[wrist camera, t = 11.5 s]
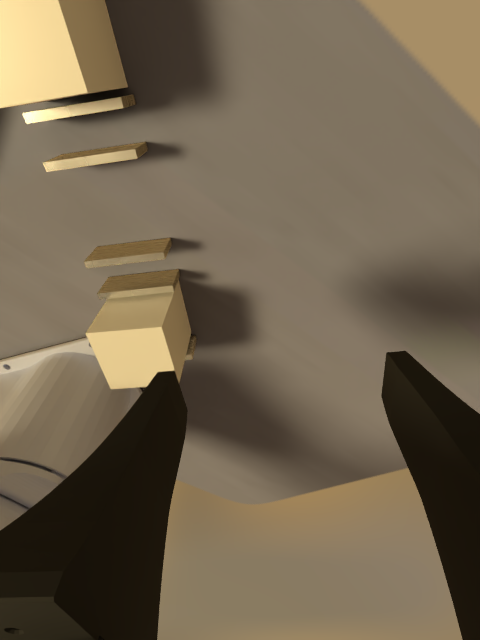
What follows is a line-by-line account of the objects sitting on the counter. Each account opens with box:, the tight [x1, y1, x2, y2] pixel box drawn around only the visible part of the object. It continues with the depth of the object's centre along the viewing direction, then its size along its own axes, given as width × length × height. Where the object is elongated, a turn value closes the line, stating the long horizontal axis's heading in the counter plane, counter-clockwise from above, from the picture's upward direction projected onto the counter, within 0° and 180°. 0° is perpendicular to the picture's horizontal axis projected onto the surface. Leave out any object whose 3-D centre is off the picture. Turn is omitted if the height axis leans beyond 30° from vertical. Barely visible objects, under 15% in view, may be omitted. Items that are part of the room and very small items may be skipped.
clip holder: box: [22, 94, 197, 360], centre depth 19 cm, size 19×4×2 cm, turn 8°
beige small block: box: [86, 280, 191, 389], centre depth 22 cm, size 4×4×5 cm
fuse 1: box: [0, 0, 128, 108], centre depth 14 cm, size 4×4×5 cm
